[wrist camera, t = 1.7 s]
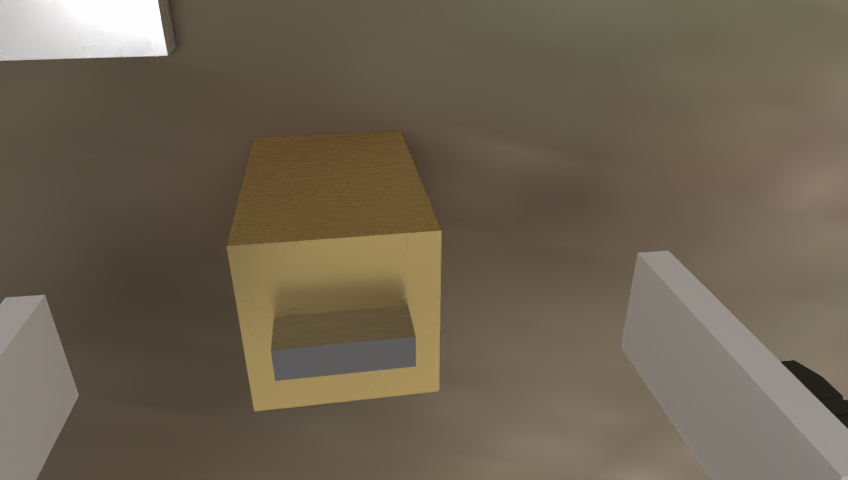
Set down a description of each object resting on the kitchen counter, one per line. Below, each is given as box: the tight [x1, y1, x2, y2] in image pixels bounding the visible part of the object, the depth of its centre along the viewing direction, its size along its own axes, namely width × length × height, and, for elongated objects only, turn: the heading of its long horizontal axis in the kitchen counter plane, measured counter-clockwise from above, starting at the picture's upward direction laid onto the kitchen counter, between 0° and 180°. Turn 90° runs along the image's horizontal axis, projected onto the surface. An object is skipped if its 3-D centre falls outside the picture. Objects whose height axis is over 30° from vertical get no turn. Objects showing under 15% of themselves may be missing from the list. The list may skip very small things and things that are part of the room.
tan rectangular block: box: [227, 131, 442, 411], centre depth 17 cm, size 4×4×8 cm
